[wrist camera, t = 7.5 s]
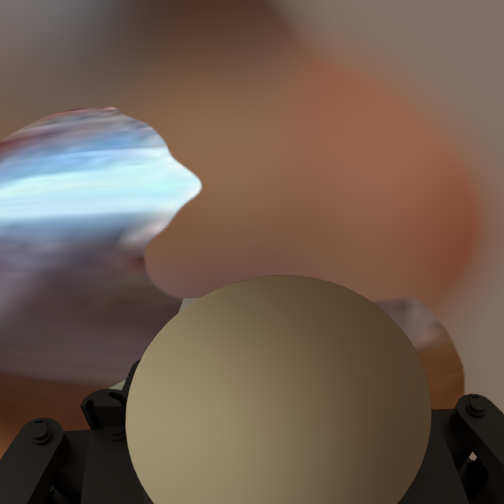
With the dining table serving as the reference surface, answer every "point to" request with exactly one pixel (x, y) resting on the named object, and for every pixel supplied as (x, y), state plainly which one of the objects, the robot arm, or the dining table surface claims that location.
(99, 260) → the dining table surface
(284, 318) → the peg
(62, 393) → the dining table surface
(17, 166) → the dining table surface
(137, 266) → the dining table surface
